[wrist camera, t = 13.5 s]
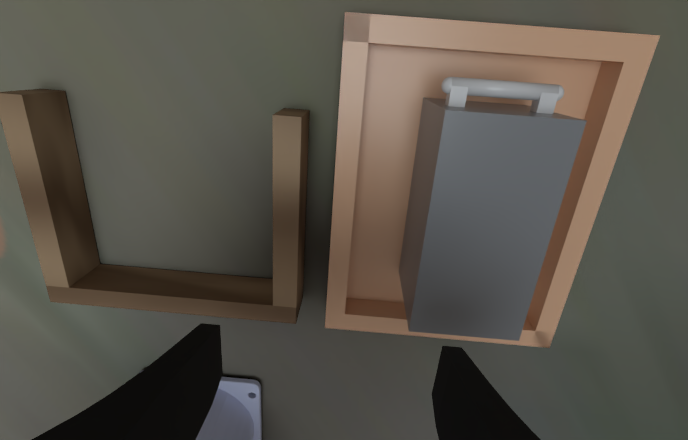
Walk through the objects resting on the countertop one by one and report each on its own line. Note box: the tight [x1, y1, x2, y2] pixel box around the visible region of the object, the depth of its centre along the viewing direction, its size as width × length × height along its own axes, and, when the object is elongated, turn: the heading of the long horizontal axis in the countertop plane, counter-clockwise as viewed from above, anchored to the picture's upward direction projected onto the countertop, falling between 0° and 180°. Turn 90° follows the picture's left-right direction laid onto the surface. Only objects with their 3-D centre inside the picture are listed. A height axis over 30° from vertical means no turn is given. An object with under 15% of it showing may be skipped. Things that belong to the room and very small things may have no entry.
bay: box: [0, 89, 309, 324], centre depth 19 cm, size 10×13×2 cm
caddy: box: [399, 77, 587, 341], centre depth 16 cm, size 10×5×5 cm, turn 176°
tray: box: [325, 12, 660, 348], centre depth 18 cm, size 15×12×2 cm
